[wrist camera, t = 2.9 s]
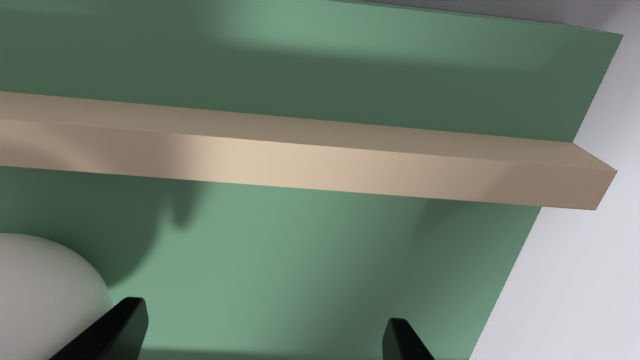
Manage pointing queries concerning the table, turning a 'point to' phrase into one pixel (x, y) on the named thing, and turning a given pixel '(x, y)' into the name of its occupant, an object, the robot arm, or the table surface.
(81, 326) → the golf ball
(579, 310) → the table surface
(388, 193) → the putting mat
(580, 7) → the table surface
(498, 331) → the table surface
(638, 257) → the table surface
